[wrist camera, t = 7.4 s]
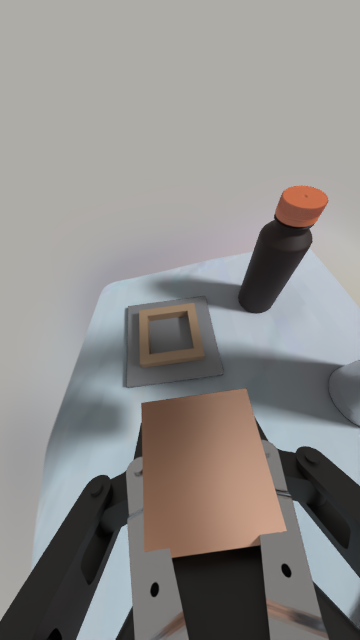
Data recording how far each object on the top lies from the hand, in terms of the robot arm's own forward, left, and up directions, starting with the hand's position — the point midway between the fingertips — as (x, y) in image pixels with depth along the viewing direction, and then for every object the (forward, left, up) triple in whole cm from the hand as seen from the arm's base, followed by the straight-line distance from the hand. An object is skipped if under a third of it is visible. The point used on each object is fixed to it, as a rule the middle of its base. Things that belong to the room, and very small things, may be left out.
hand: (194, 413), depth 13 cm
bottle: (-16, -20, -18) cm, 31 cm away
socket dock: (+2, -14, -17) cm, 22 cm away
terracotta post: (0, +2, -5) cm, 5 cm away
